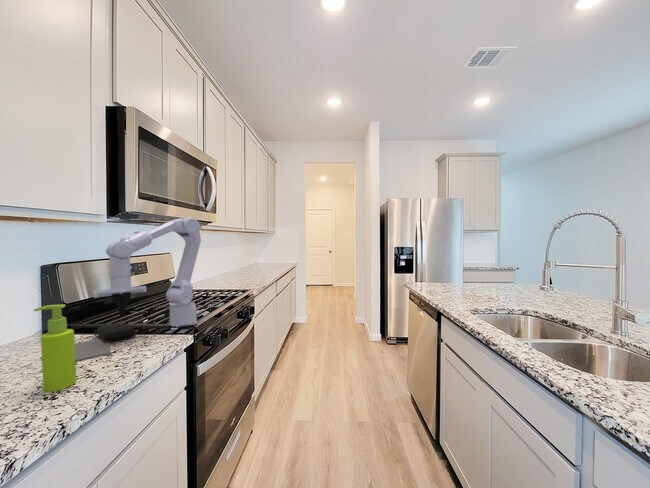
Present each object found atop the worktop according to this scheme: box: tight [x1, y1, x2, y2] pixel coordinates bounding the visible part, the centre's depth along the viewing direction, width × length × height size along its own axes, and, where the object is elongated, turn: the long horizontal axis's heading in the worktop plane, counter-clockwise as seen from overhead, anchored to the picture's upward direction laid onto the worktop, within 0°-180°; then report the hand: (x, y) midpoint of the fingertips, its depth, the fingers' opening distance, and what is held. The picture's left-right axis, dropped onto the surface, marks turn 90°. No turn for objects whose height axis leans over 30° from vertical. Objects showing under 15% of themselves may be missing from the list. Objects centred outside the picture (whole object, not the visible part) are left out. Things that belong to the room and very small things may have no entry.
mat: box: [74, 337, 112, 363], centre depth 90 cm, size 14×18×1 cm
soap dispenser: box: [33, 303, 77, 393], centre depth 69 cm, size 6×7×20 cm
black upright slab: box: [93, 322, 137, 342], centre depth 103 cm, size 11×3×15 cm
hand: (122, 315), depth 97 cm, fingers closed
